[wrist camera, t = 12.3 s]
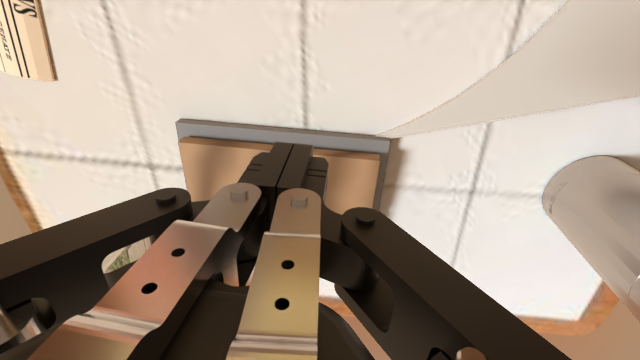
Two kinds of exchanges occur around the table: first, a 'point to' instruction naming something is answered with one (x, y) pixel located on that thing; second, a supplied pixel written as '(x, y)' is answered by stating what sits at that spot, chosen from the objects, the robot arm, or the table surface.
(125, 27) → the table surface
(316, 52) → the table surface
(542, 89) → the corner molding
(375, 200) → the board
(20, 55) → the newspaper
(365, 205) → the walnut plank
